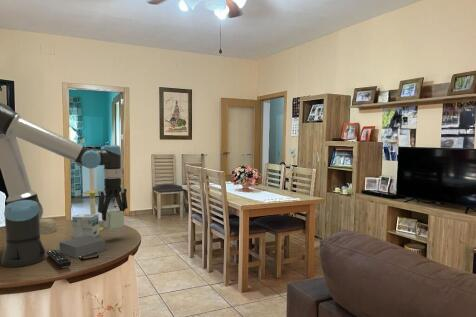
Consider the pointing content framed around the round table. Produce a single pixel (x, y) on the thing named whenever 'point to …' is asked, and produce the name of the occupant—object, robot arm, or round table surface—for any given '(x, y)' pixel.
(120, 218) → the green cube
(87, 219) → the light bulb box
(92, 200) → the candle
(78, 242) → the base block
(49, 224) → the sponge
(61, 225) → the round table surface
